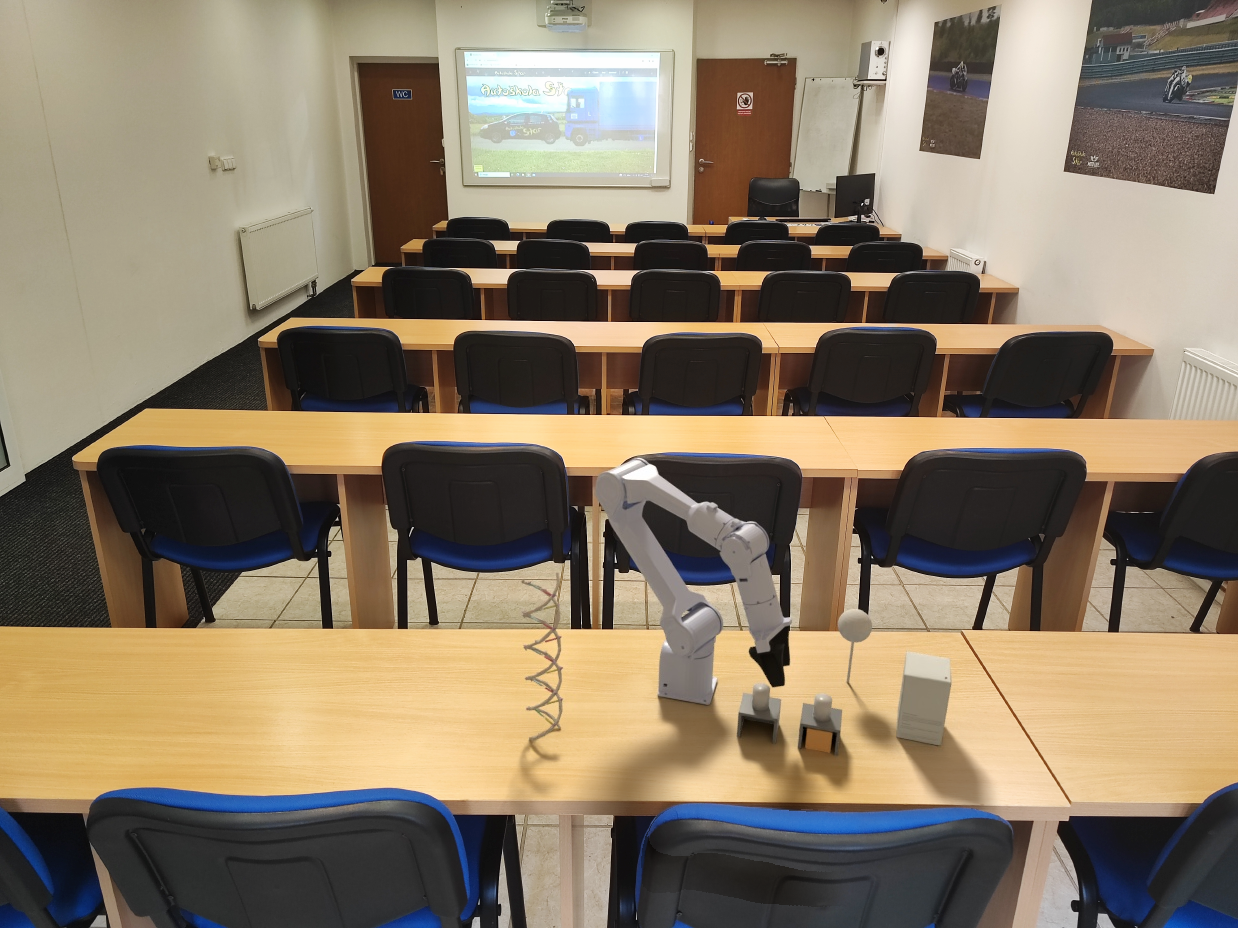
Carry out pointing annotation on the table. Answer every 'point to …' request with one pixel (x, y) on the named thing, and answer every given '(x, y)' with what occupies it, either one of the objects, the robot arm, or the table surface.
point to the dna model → (546, 656)
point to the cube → (818, 739)
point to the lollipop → (854, 629)
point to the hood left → (760, 708)
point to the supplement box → (924, 698)
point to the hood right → (821, 718)
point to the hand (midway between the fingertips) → (781, 675)
